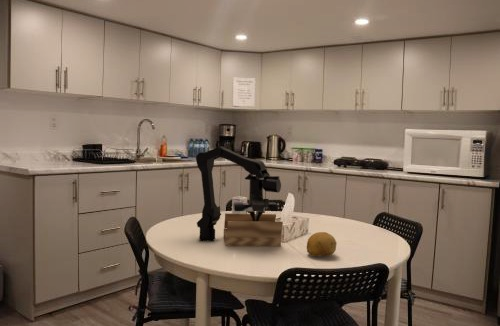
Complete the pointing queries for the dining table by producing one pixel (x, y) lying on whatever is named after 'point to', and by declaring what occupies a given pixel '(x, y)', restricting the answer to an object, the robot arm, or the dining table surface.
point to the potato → (321, 244)
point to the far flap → (247, 217)
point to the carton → (250, 241)
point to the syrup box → (239, 199)
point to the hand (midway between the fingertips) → (255, 226)
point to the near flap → (254, 229)
